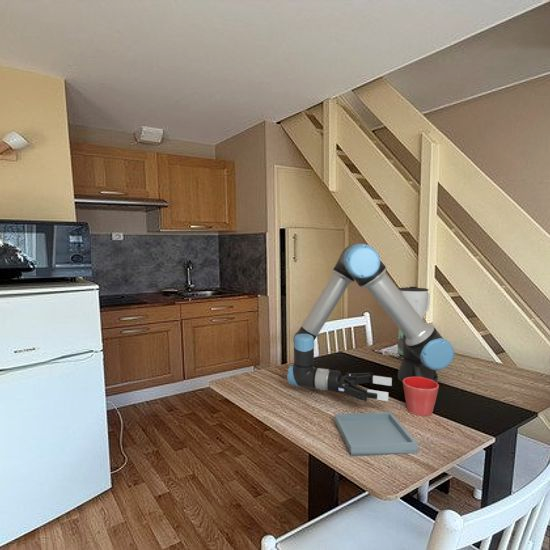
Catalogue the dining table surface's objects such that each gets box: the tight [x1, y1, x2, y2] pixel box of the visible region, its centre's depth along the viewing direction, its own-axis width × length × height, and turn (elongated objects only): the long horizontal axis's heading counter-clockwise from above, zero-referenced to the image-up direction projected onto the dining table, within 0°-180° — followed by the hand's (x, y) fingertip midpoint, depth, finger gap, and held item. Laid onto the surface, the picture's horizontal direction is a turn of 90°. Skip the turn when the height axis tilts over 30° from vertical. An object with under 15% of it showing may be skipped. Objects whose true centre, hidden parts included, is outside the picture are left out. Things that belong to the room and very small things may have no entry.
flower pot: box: [402, 377, 440, 417], centre depth 115 cm, size 11×11×10 cm
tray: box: [334, 411, 419, 457], centre depth 100 cm, size 18×18×2 cm
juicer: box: [397, 286, 431, 358], centre depth 171 cm, size 19×13×35 cm
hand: (390, 389), depth 119 cm, fingers open, 13 cm apart
